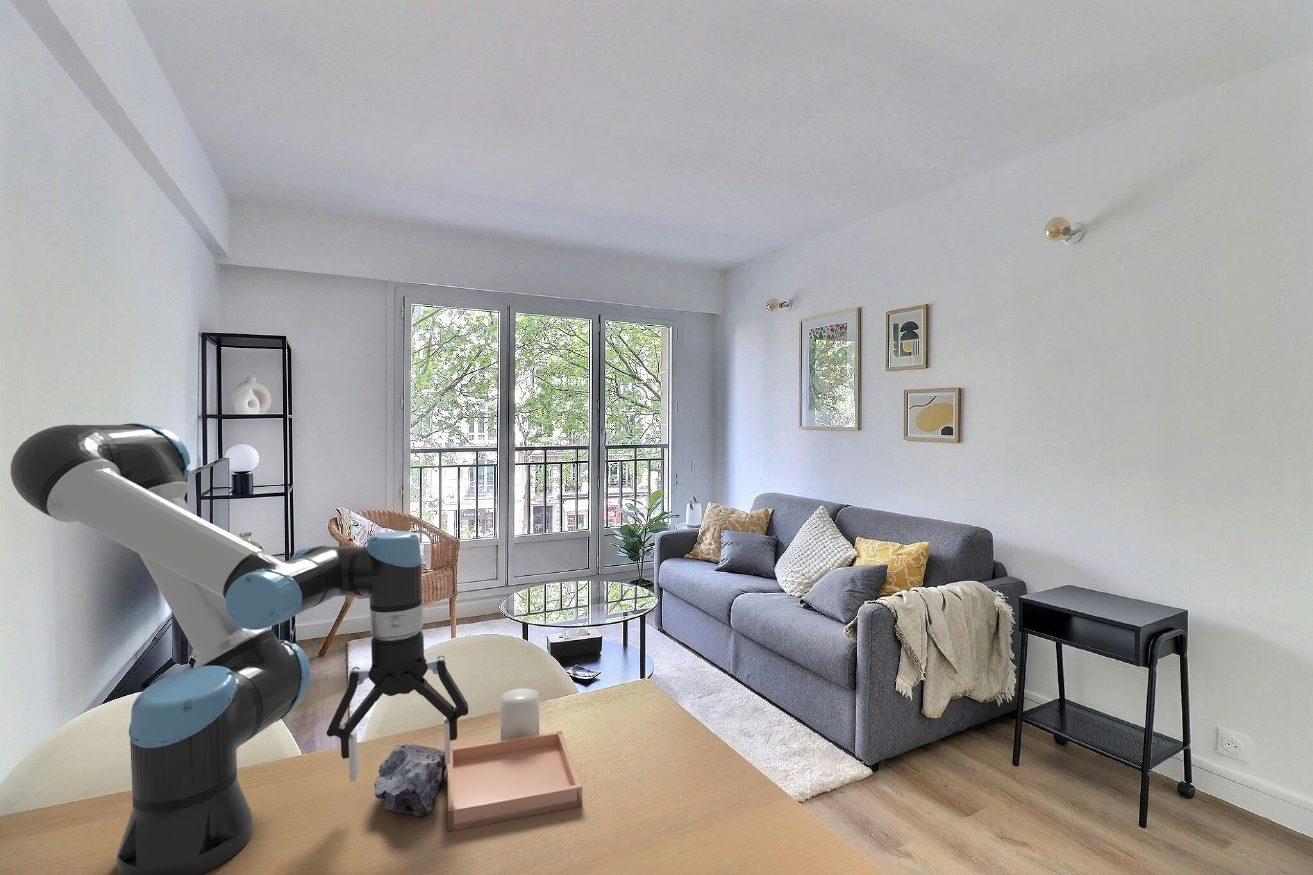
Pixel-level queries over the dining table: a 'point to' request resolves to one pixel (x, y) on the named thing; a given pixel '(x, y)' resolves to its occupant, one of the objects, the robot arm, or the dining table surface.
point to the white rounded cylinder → (519, 713)
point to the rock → (411, 779)
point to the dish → (510, 780)
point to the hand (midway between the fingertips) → (401, 768)
